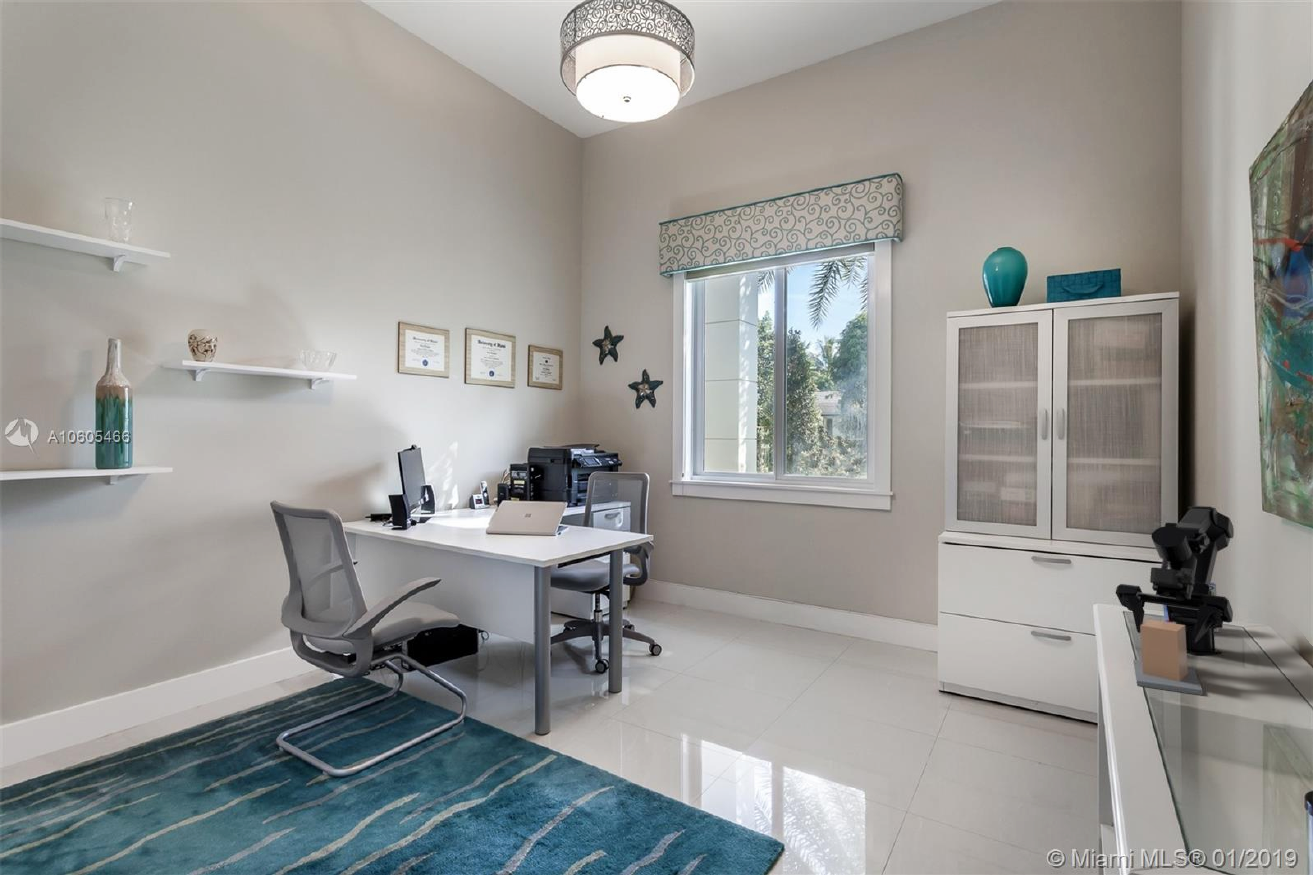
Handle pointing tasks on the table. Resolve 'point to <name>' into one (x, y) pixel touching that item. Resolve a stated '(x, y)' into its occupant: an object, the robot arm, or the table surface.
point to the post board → (1168, 681)
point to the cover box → (1164, 649)
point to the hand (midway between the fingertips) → (1165, 636)
